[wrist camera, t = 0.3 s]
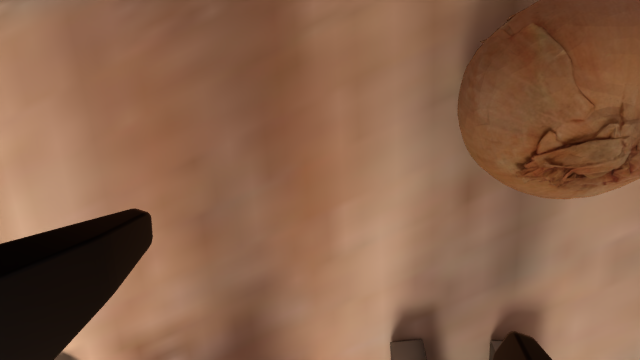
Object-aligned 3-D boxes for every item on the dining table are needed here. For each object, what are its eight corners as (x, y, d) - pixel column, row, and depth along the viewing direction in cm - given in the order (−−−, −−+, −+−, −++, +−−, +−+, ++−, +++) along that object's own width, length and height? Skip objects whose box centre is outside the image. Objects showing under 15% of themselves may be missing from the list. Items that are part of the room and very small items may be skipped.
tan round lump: (500, 154, 24) (533, 270, 16) (421, 55, 21) (418, 142, 13) (674, 70, 18) (846, 189, 11) (599, -84, 15) (766, -67, 8)
